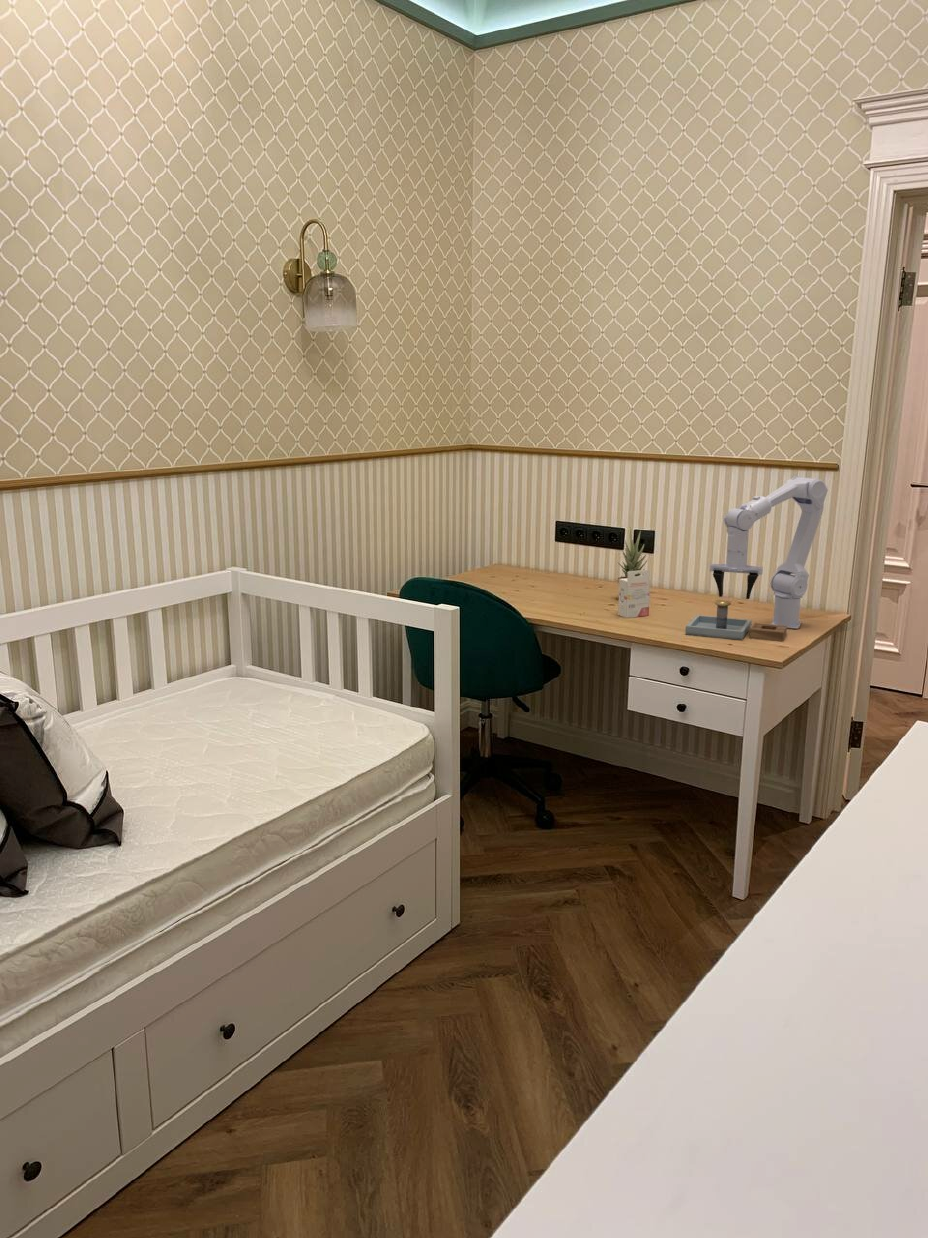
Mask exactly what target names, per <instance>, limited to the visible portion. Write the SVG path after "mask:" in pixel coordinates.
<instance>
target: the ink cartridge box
mask: <svg viewBox="0 0 928 1238" xmlns="http://www.w3.org/2000/svg"><path fill="white" fill-rule="evenodd" d="M650 572H651V571H650V569H645V570H643V569H641V570H638V571H628V572H627V576H628V578H624V579H619V584H618V604H617V605H618V609H617V610H618V613H617V615H618V616H619V615H620V617H622V618H626V619H629V618H630V619H631V618H639V617H641V618H642V617H649V616H650V595H651V593H650V592H651V591H650V589H651V577H650ZM638 573H639V574H640V575H639V576H635V574H638Z"/></svg>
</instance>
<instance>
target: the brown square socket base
mask: <svg viewBox="0 0 928 1238" xmlns="http://www.w3.org/2000/svg"><path fill="white" fill-rule="evenodd" d="M787 630H788V628H787V626H783V625H772V624H771V623H760V622H754V623H753V625H751V629H750V630H749V639H756V640H757V639H758V640H764V641H776V642H784V640H785V638H786V636H787V633H788V632H787Z"/></svg>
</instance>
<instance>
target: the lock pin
mask: <svg viewBox="0 0 928 1238" xmlns="http://www.w3.org/2000/svg"><path fill="white" fill-rule="evenodd" d="M731 603H732V602H731V601H730V600H727V599H717V600H716V599H715V600H714V604H715V605H716V617H717V619H716V628H718V629H727V618H728V613H729V612H728V611H729V606H731Z"/></svg>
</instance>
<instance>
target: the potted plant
mask: <svg viewBox="0 0 928 1238" xmlns="http://www.w3.org/2000/svg"><path fill="white" fill-rule="evenodd" d="M640 539H641V530H639V533H638V535H637V539H636V542H635V543H634V540H633V537H632V528H630V530H629V544H630V545H628V542H627V541H626V539H624V542H625V543H624V544H625V548H624V550H623V549H622V551H621V552H622V555H623V558H624V560H625V562H626V563H625V562H624V561H622V564H620V563H619V562H617V564H618V566H620V568H621V569H622V572H623V574H624V576H620V577H617V578H616V583H617V584H618V585H619V579H624V578H628V576H627V572H628V571H638V570H646V569H645V568H643V567H644V566H645V565H646V563H647V562H648V559H646V560H645V558H646V557H647V554H645V555H643V557H641V555H642V553H643V551H644V548H645V543H643V545H642V547H640V549H639V542H640ZM629 546H630V548H629ZM624 551H625V552H624ZM640 557H641V559H640ZM644 560H645V562H644V563H643V561H644ZM642 563H643V564H642ZM635 576H641V574H639V573H638V574H635Z"/></svg>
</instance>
